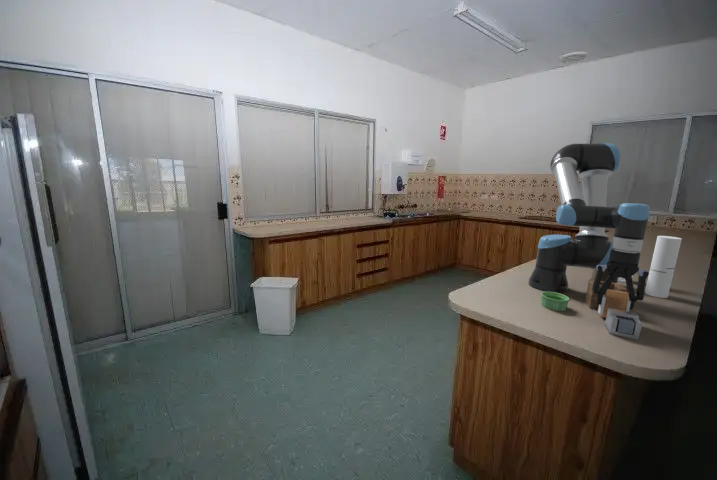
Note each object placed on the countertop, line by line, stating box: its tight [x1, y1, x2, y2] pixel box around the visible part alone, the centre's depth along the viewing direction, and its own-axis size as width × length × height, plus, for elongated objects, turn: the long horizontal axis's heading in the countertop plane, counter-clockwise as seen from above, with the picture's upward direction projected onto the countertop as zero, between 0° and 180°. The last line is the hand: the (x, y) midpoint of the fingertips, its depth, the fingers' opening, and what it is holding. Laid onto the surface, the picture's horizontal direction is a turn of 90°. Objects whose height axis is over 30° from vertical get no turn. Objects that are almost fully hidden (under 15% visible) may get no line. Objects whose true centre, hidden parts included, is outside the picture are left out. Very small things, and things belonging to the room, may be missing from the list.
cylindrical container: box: [644, 235, 683, 299], centre depth 129 cm, size 7×7×25 cm
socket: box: [584, 278, 628, 311], centre depth 116 cm, size 10×8×9 cm
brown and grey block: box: [599, 289, 635, 334], centre depth 102 cm, size 6×20×10 cm, turn 153°
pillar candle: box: [590, 268, 619, 283], centre depth 143 cm, size 10×10×15 cm
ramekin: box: [540, 291, 571, 312], centre depth 116 cm, size 9×9×4 cm
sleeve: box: [604, 308, 643, 340], centre depth 96 cm, size 7×6×6 cm
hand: (612, 315), depth 106 cm, fingers closed on brown and grey block, 6 cm apart
